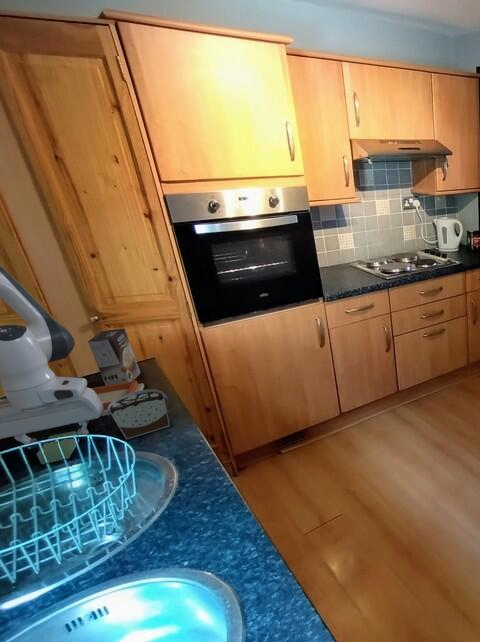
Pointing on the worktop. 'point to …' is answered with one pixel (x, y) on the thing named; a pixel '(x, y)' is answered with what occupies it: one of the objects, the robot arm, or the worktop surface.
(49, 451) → the green pad
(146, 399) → the food container
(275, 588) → the worktop surface
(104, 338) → the coffee box
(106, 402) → the orange tray
